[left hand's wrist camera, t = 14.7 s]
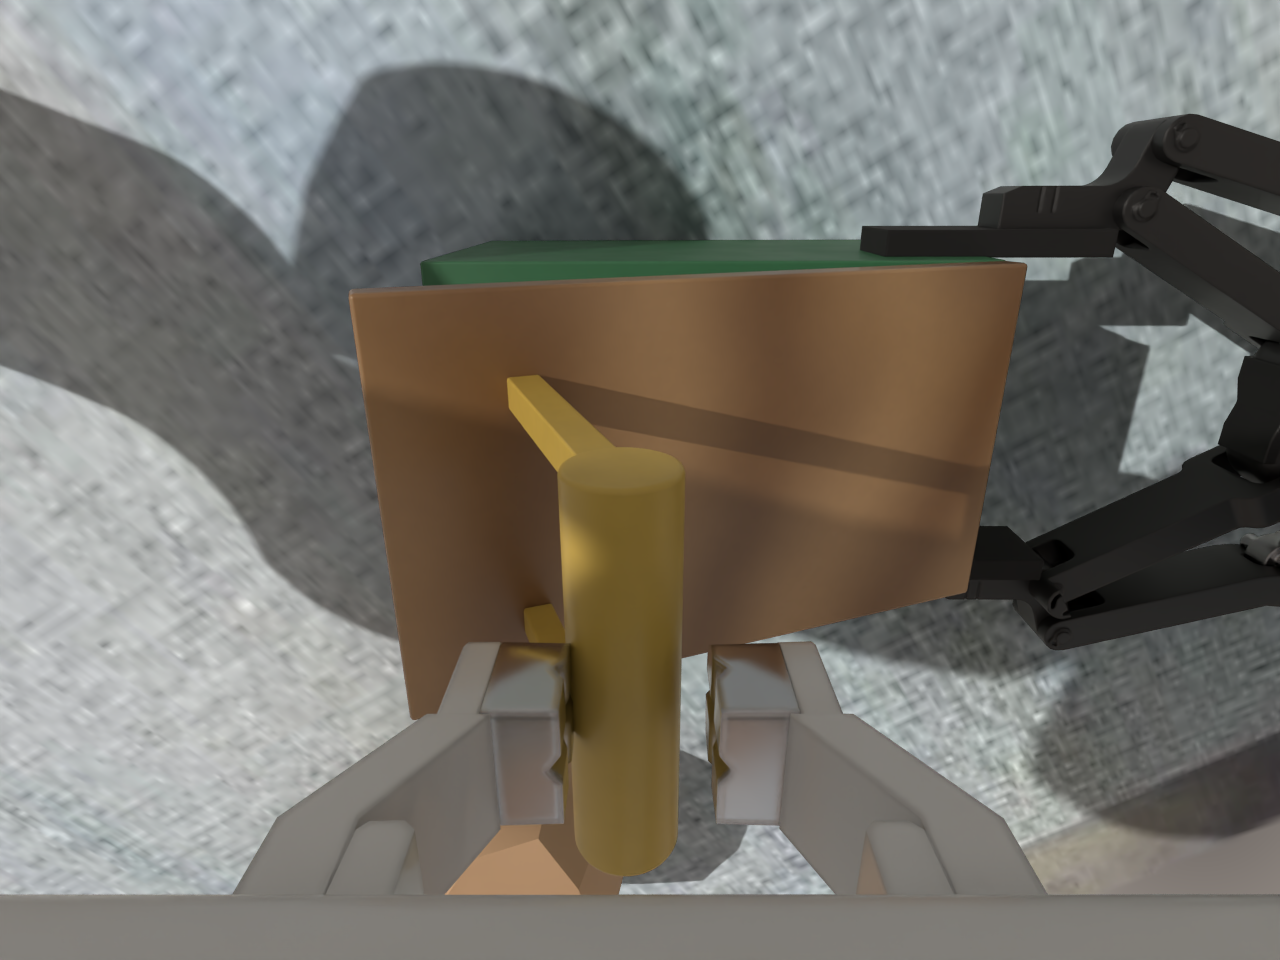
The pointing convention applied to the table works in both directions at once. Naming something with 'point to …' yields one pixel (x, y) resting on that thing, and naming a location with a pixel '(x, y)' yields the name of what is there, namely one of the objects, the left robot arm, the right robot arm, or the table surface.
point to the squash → (535, 863)
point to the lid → (673, 480)
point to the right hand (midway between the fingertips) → (854, 409)
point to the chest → (650, 259)
